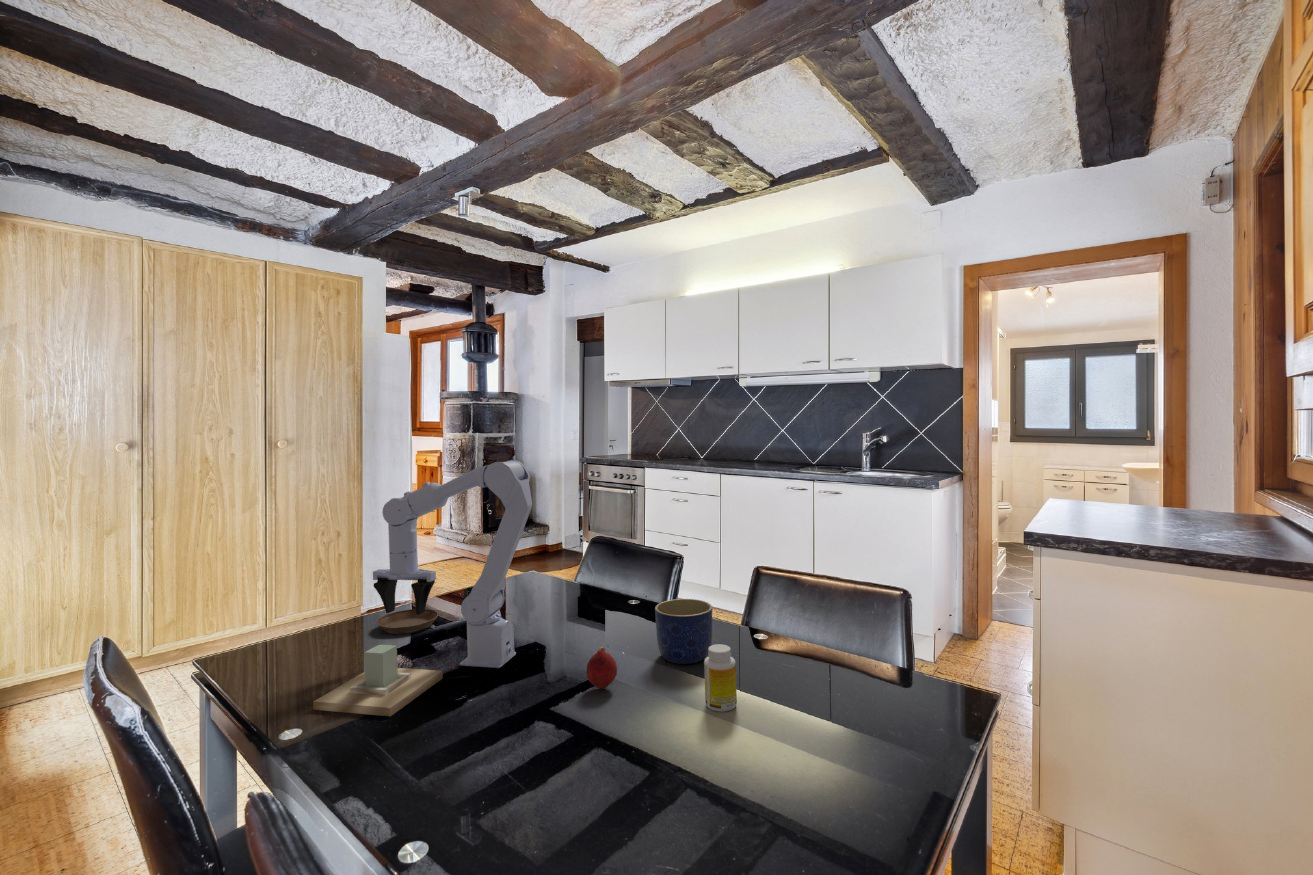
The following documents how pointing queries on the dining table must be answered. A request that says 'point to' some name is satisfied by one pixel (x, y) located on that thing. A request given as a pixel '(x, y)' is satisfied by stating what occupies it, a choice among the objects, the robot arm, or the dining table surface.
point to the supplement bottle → (720, 679)
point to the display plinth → (378, 693)
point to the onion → (601, 669)
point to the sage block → (381, 666)
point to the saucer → (406, 621)
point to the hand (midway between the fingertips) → (405, 612)
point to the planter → (684, 630)
